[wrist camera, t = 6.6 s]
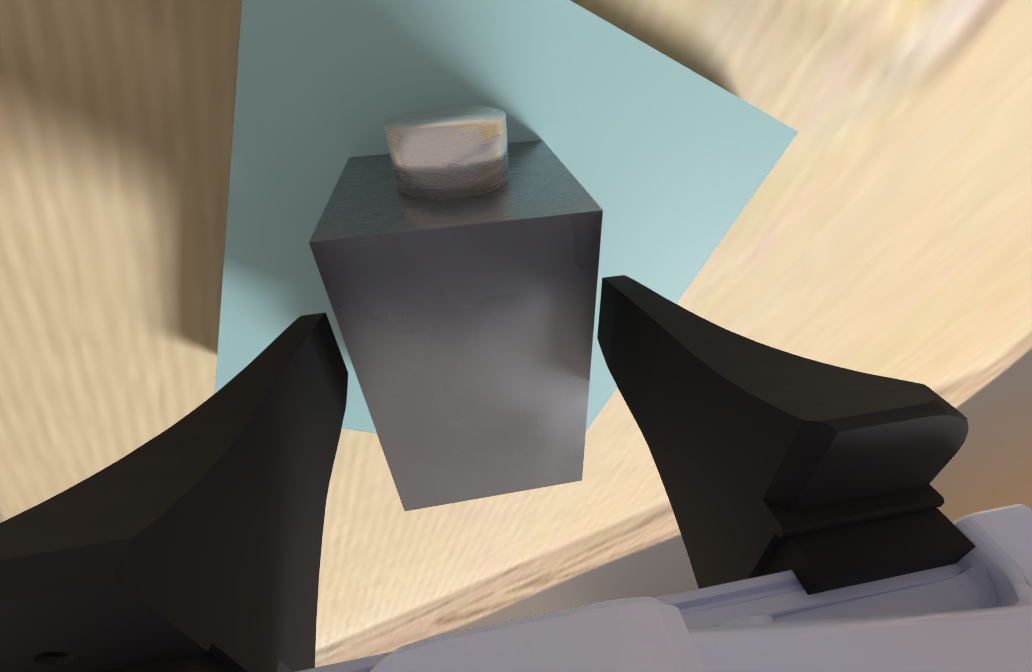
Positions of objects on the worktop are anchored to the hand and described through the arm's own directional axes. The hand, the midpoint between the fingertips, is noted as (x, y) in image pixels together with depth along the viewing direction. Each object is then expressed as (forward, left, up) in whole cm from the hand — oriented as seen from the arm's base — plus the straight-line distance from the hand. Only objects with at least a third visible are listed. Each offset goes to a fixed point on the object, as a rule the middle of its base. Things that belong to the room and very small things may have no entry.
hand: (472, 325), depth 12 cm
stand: (0, 0, -5) cm, 5 cm away
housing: (0, 0, -3) cm, 3 cm away
